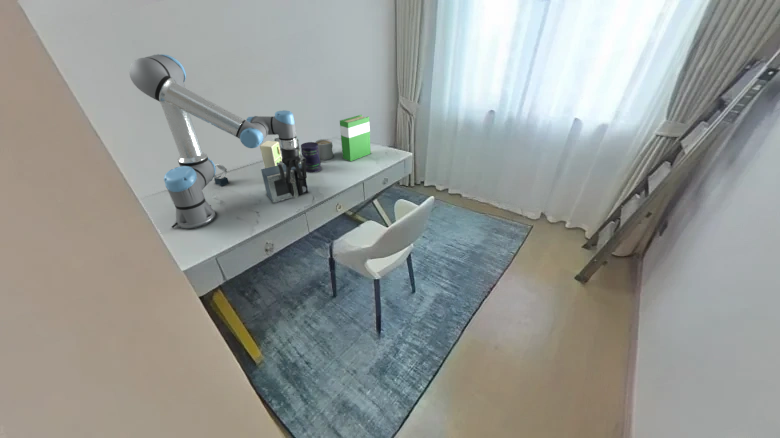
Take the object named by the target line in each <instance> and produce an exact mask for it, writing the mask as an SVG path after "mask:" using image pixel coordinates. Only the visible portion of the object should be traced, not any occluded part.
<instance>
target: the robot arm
mask: <svg viewBox="0 0 780 438" xmlns="http://www.w3.org/2000/svg"><path fill="white" fill-rule="evenodd" d="M128 72H129V78H130V80H131V82H132V83H133V85H134V86H135V87H136V88H137V89H138V90H139V91H140V92H142V93H143V94H144V95H147V96H148V97H150V98H152V99H153V100H155V101H158V102H159V103H160V105H161V107H162V111H163V113H164V116H165V119H166V121H167V124H168V127H169V130H170V132H171V135H172V137H173V140H174V143H175V145H176V148H177V151H178V153H179V157H178V158H177V162H178V164H179V166H177V167H174V168H171V169H169V170H168V171H167V172H165V174H164V176H163V182H164V185H165V188H166V189H167V192H168V193H169V196H170V198H171V200H172V202H173V205H174V207H175V222H174V224H173V225H172V226H171V228H172V229H174V228H175V227H176V226H178V227H179V228H180V229H184V230H192V229H197V228H201V227H204V226H206V225H208V224H210V223H212V222H213V221H214V220H215V219H216V216H217V215H216V212H215V210H214V208H213V207H212V205H211V204H210V203H208V201H207V200H206V198H205V195H204V192H203V190H204V189H205V188H206V187H207V185H209V184H210V182H211V181H212V180H213V179H214V175H216V174H217V173H216V172H217V168H216V167H217V166H216V167H215V165H214V164H215V163H214V161H213V160H212V159H210V158H209V157H208V155H207V153H205V152H203V151H202V150H203V149H202V147H201V145H200V141H199V139H198V135H197V133H196V129H195V126H194V124H193V120H192V118H191V116H194V117H195V118H198V119H200V120H202V121H203V122H206V123H208V124H210V125H211V126H214V127H215V128H218V129H220V130H222V131H223V132H225V133H228V134H229V135H232V136H233V137H235V138H237V139H239V141H240V143H241V144H242V145H243V146H244V147H245V148H248V149H256V148H258V147H260V145H262V144H263V143H264V140H265V138H266V137H267V136H275V135H277V136H278V140H279V141H278V142H279V147H280V152H281V157H282V161H281V162H279V163H278V162H277V166H278V167H279V171H280V175H281V180H282V182H283V183H286V184H287V188H288V189H290V194H291V195H292V196H294V194H293V188H292V183H291V182H290V172H291V168H292V167H295V168H296V171H297V174H298V176H299V178H300V179H298V184H299V190H300V192H301V193H303V189H302V186H304V182H303V181H304V179H305V178H306V179H307V178H308V176H307V175H308V173H307V172H306V159H305V158H304V157H303V156H301V157H300V156H299V150H298V147H297V146H298V143H299V142H298V143H297V139H298V136H297V132H296V131H297V130H296V122H295V117H294V113H293V112H292V111H291V110H287V109H285V110H284V109H283V110H278V111H276V112H275V113H274V115H273V116H261V115H260V116H258V115H254V116H248V117H247V118H246V119H244V118H242V117H240V116H239V115H236V114H235V113H233V112H231V111H229V110H228V109H225V108H224V107H222V106H220V105H218V104H216V103H214V102H212V101H210V100H208V99H206V98H205V97H203V96H202V95H199V94H197V93H195V92H193V91H192V90H190V89H189V88H186V85H185V82H186V80H187V79H186V78H187V73H186V69H185V67H184V66H183V64H182V63H181V62H180V61H179V60H178V59H177V58H175V57H173V56H171V55H169V54H164V53H161V54H159V53H157V54H153V55H149V56H145V57H140V58H136V59H135V60H134V61H132V62H131V64H130V65H129V70H128ZM300 160H301V164H300V165H301V166H302V174H301V171H300V169H299V165H298V163H299V161H300ZM283 164H285V165H286V180H285V175H284V171H283V168H282V167H283Z"/></svg>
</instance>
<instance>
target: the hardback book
mask: <svg viewBox="0 0 780 438" xmlns="http://www.w3.org/2000/svg"><path fill="white" fill-rule="evenodd" d="M339 129H340V130H339V131H340V139H341V153H342V159H343V160H345V161H348V162H353V161H356V160H358V159H360V158H363V157H366V156H368V155H371V154H372V153H371V127H370V116H363V114H359V115H355V116H351V117H348V118H344V119H341V120H339Z"/></svg>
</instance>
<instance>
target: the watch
mask: <svg viewBox="0 0 780 438" xmlns="http://www.w3.org/2000/svg"><path fill="white" fill-rule="evenodd" d="M214 165H215V167H217V168H218V169H219V170H221V171H222V175H219V176H217V175H216V174H215V175H214V177H213V179H214V182H215V184H216V185H218V186H220V187H224V186H225V185H228V184H230V182H229V178H228V177H227V173H228V171H227V167H225V166H224V165H222V164H221V163H214Z"/></svg>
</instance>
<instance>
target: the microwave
mask: <svg viewBox="0 0 780 438" xmlns="http://www.w3.org/2000/svg"><path fill="white" fill-rule="evenodd" d="M298 165H299V169H300V171H301V174H302V166H301V164H299V163H298ZM282 168H283V171H284V172H286V165H285V164H284V163H283V167H282ZM291 170H293V171H294V174H295V180H296V186H297V191H298V196H302V195H306V194H308V193H309V189H308V182H307V178H305V179H304V181H303V182H304V186H302V189H303V193H301V192H300V190H299V184H298V179H300V178H299V176H298V174H297V171H296V168H295V167H292V168H291ZM260 171H261V175H262V179H263V184H264V187H265V188H264V189H265V192H266V195H267V196H268V198H269V199H270V201H272V196H271V192H270V188H269V183H268V179H267V176H271V175H275V174H279V173H280V171H279V167H278V166H273V167H269V168H265V167H264V168H261V169H260Z"/></svg>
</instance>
